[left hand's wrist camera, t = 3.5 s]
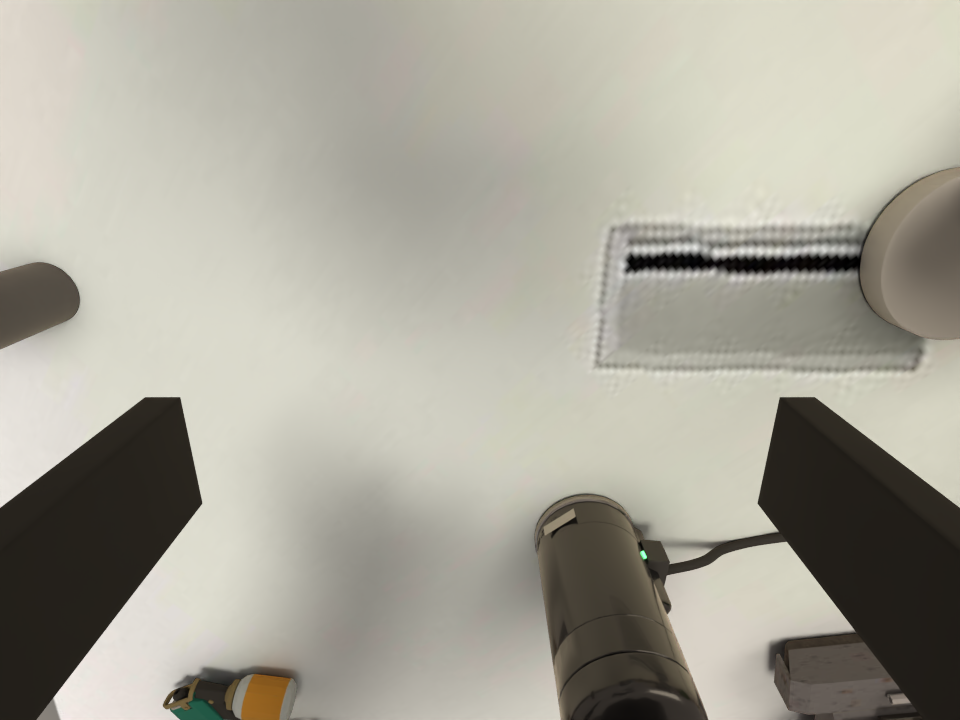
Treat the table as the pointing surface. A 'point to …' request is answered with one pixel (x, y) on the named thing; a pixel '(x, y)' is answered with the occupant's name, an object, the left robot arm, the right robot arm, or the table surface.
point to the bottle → (34, 301)
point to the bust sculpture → (917, 259)
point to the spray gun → (235, 699)
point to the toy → (839, 681)
